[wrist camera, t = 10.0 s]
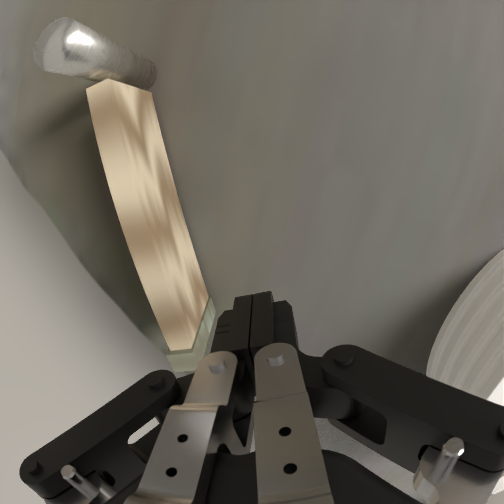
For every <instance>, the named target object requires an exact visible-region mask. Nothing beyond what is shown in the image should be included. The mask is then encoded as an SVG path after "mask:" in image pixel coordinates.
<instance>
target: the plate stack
mask: <svg viewBox="0 0 504 504" xmlns="http://www.w3.org/2000/svg"><path fill="white" fill-rule="evenodd" d="M426 376H427V377H430V378H432V379H435V380H437V381H440V382H442V383H445V384H447V385H450V386H452V387H455V388H457V389H460V390H462V391H465V392H467V393H470V394H472V395H475V396H478V397H480V398H483V399H486V400H488V401H491V402H494V403H496V404H499V405H502V406H504V249H503V250H501V251H500V252H499V253H498V254H497V255H495V256H494V257H493V258H492V259H491V260H490V261H489V262H488V263H487V264H486V265H485V266H484V267H483V268H482V269H481V270H480V271H479V273H478V274H477V275H476V276H475V277H474V278H473V280H472V281H471V282H470V283H469V285H468V286H467V287H466V289H465V290H464V291H463V293H462V294H461V295H460V297H459V298H458V300H457V301H456V303H455V304H454V306H453V307H452V309H451V311H450V312H449V314H448V316H447V317H446V319H445V321H444V323H443V325H442V327H441V329H440V331H439V333H438V335H437V337H436V339H435V342H434V344H433V347H432V350H431V353H430V356H429V360H428V364H427V370H426Z"/></svg>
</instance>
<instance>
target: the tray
mask: <svg viewBox="0 0 504 504" xmlns="http://www.w3.org/2000/svg"><path fill="white" fill-rule="evenodd" d="M499 488H500V489H499ZM502 490H504V476H502V477H501V478H500V479H499V480H498V482H497V484H496V486H495V488H494V489H493V491H492V493H493V492H494V493H498V492H500V491H502ZM492 493H491V494H492ZM494 493H493V494H494Z"/></svg>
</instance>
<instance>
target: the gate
mask: <svg viewBox="0 0 504 504" xmlns="http://www.w3.org/2000/svg"><path fill="white" fill-rule="evenodd" d="M86 92H87V97H88V102H89V107H90V112H91V117H92V121H93V126H94V130H95V135H96V139H97V143H98V147H99V151H100V155H101V159H102V163H103V167H104V170H105V174H106V178H107V181H108V185H109V188H110V192H111V195H112V198H113V202H114V205H115V208H116V211H117V214H118V218H119V221H120V224H121V227H122V230H123V233H124V236H125V239H126V242H127V244H128V247H129V250H130V253H131V256H132V259H133V261H134V264H135V267H136V269H137V272H138V275H139V277H140V280H141V282H142V285H143V288H144V290H145V293H146V295H147V298H148V300H149V303H150V305H151V307H152V310H153V312H154V315H155V317H156V319H157V322H158V324H159V326H160V328H161V331H162V333H163V335H164V338H165V340H166V342H167V344H168V346H169V350H168V352H167V355H166V356H167V358H168V360H169V362H170V364H171V366H172V368H173V370H174V372H181V371H192V370H196V368H197V366H198V363H199V362H200V361H201V360H202V359H203V357H204V353H205V349H206V345H207V342H208V338H209V334H210V331H211V327H212V323H213V320H214V316H215V312H216V311H215V308H214V305H213V302H212V299H211V296H210V297H209V296H208V293H207V290H206V287H205V284H204V281H203V278H202V275H201V272H200V268H199V265H198V262H197V259H196V256H195V252H194V249H193V246H192V243H191V239H190V236H189V233H188V229H187V226H186V223H185V219H184V216H183V212H182V209H181V205H180V202H179V198H178V195H177V191H176V188H175V184H174V180H173V177H172V173H171V169H170V166H169V162H168V158H167V154H166V150H165V147H164V143H163V139H162V135H161V131H160V127H159V123H158V119H157V114H156V110H155V106H154V102H153V98H152V93H151V92H148V91H145V90H142V89H139V88H136V87H133V86H130V85H127V84H124V83H121V82H118V81H114V80H111V79H106V80H104V81H102V82H99V83H97V84H95V85H93V86H91V87H89V88H87V89H86Z"/></svg>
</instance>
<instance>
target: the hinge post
mask: <svg viewBox="0 0 504 504" xmlns="http://www.w3.org/2000/svg"><path fill="white" fill-rule="evenodd" d="M33 58H34V63H35V65H36V66H37V67H38V68H39V69H40V70H44V71H49V72H54V73H59V74H64V75H69V76H73V77H78V78H82V79H86V80H91V81H95V82H102V81H104V80H106V79H111V80H114V81H118V82H121V83H124V84H127V85H130V86H133V87H136V88H139V89H142V90H147V89H148V88H150V87H151V86H152V85H153V83H154V82H155V79H156V76H157V69H156V67H155V65H154V64H153V63H152V62H151V61H149V60H148V59H146V58H144V57H143V56H141V55H139V54H138V53H136V52H134V51H132V50H131V49H129V48H127V47H125V46H123V45H122V44H120V43H118V42H116V41H114V40H113V39H111V38H109V37H107V36H105V35H103V34H101V33H99V32H97V31H95V30H94V29H92V28H90V27H88V26H86V25H84V24H82V23H79V22H77V21H75V20H73V19H71V18H68V17H62V18H58V19H56V20H54V21H53V22H51V23H50V24H49V25H47V26H46V27H45V29H44V30H43V31H42V32H41V34H40V35H39V37H38V39H37V41H36V44H35V47H34V52H33Z"/></svg>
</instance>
